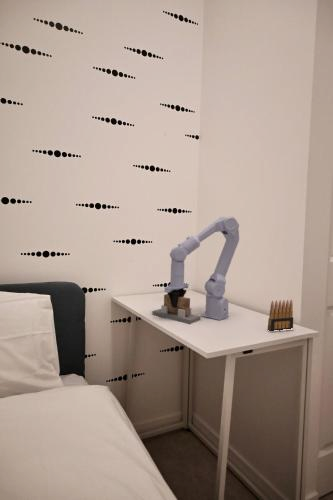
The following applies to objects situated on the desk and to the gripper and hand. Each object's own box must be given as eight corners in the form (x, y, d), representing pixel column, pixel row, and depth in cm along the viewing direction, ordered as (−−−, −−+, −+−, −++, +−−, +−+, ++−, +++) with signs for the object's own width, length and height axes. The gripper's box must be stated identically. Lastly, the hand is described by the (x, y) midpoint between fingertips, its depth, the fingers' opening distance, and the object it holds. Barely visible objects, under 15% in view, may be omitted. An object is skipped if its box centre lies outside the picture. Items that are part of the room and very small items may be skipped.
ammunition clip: (289, 328, 125) (291, 298, 124) (293, 330, 123) (294, 300, 123) (267, 331, 122) (268, 300, 121) (270, 332, 120) (272, 301, 119)
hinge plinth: (200, 319, 133) (201, 309, 133) (189, 324, 127) (190, 313, 127) (163, 311, 146) (163, 301, 145) (152, 314, 139) (152, 304, 139)
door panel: (189, 314, 133) (190, 298, 133) (185, 316, 131) (185, 299, 130) (167, 309, 141) (167, 294, 140) (162, 310, 138) (163, 295, 138)
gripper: (179, 272, 143) (178, 302, 144) (159, 275, 132) (158, 308, 133) (192, 274, 139) (191, 305, 140) (172, 277, 127) (171, 311, 128)
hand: (176, 306), depth 136 cm, fingers closed on door panel, 2 cm apart
